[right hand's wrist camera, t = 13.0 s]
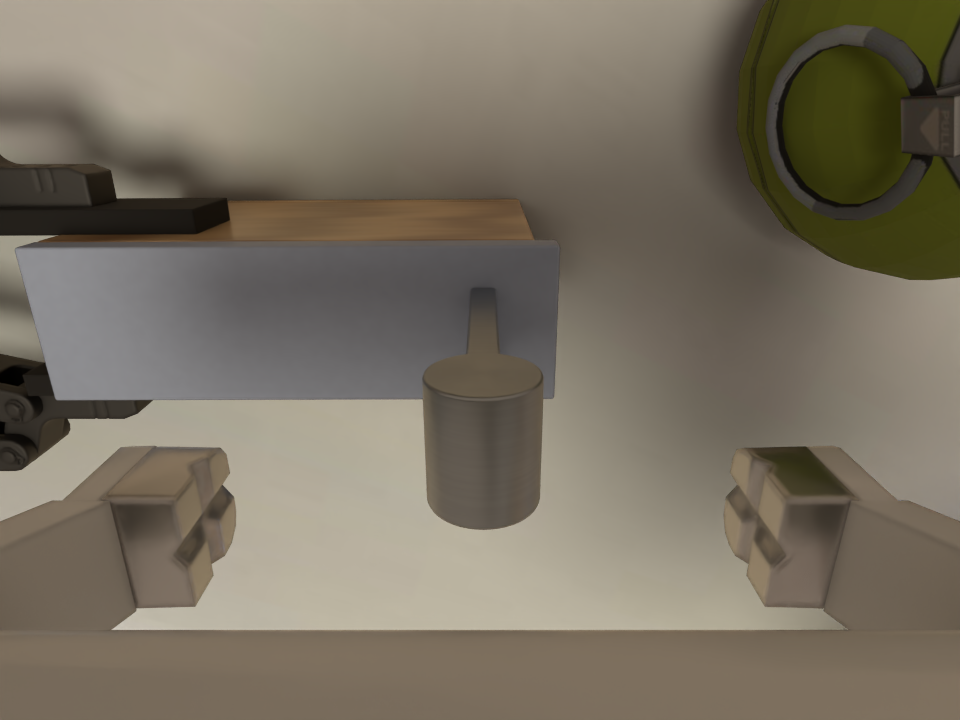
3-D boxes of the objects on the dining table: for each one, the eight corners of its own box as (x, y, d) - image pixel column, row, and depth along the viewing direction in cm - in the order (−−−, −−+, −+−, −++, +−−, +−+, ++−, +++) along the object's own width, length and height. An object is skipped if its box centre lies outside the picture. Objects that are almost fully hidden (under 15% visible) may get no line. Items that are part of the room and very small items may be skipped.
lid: (557, 239, 18) (615, 340, 10) (551, 388, 20) (597, 576, 12) (33, 241, 18) (-323, 343, 10) (72, 389, 20) (-208, 577, 12)
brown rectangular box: (519, 198, 26) (535, 239, 18) (517, 305, 28) (532, 387, 20) (178, 200, 27) (34, 241, 18) (196, 306, 28) (72, 388, 20)
